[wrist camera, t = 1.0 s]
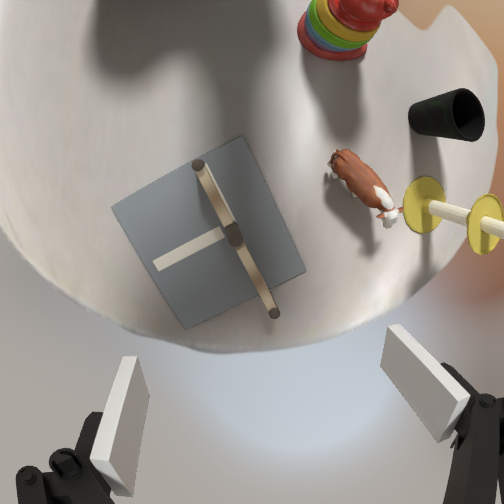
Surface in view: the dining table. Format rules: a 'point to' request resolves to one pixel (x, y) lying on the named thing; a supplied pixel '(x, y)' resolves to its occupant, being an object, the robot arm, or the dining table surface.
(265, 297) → the fence hinged
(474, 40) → the dining table surface
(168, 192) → the card
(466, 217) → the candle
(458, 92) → the cup
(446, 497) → the robot arm
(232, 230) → the fence fixed
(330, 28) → the stacking bear
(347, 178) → the bull figurine
